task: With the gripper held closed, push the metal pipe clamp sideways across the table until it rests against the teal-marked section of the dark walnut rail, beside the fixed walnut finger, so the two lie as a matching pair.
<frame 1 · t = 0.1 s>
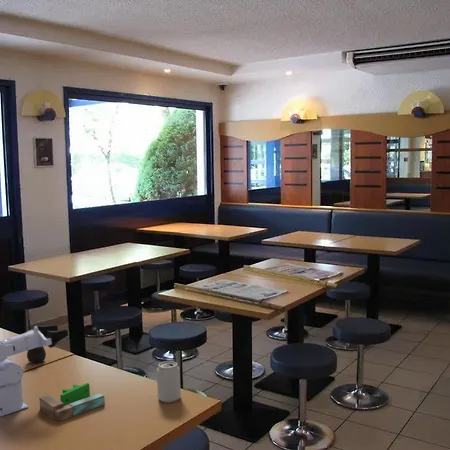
hand: (62, 330, 188), 22 cm above the table, tool horizontal, fingers open, 7 cm apart
rail: (80, 411, 173), on the table
fixed finger: (52, 412, 174), on the table
mate gourd: (37, 362, 219), on the table
can: (169, 399, 181), on the table
pipe clamp: (73, 401, 182), on the table
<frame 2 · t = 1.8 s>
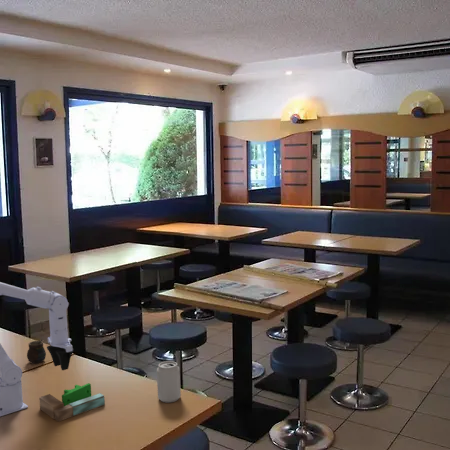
hand: (61, 367, 186), 9 cm above the table, tool pointing down, fingers open, 5 cm apart
nothing on the table moved.
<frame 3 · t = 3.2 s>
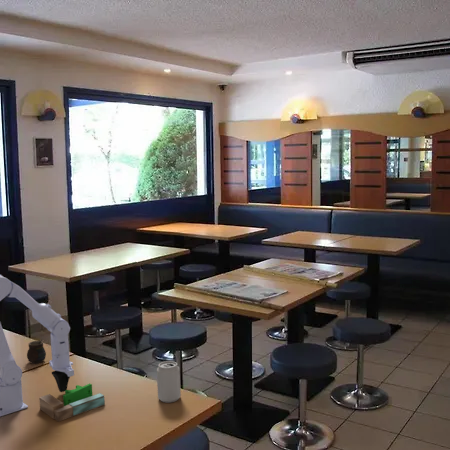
hand: (63, 391, 187), 1 cm above the table, tool pointing down, fingers closed
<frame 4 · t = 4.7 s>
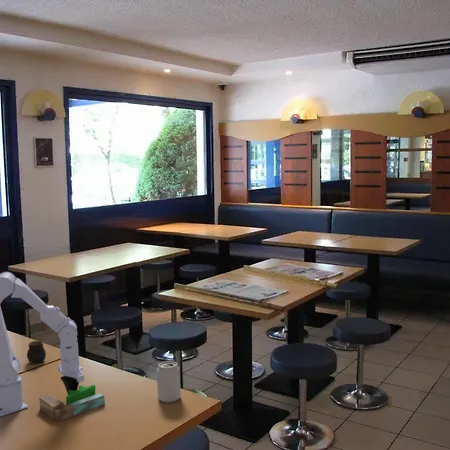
hand: (72, 396, 182), 1 cm above the table, tool pointing down, fingers closed
pipe clamp: (78, 402, 180), on the table
everything else where it was.
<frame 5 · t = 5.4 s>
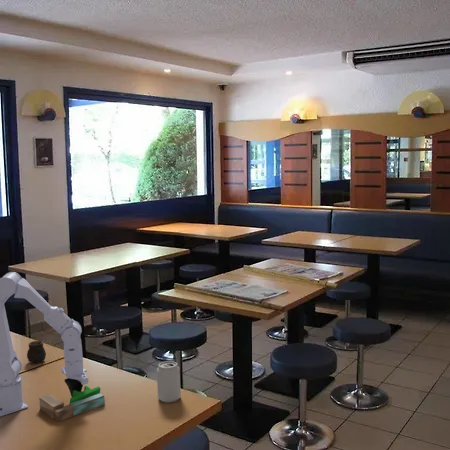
hand: (76, 399, 180), 1 cm above the table, tool pointing down, fingers closed
pipe clamp: (82, 403, 179), on the table, touching gripper
everything else where it was.
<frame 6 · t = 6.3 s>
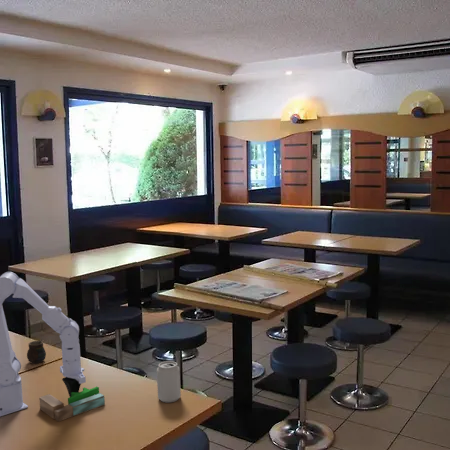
hand: (73, 398, 181), 1 cm above the table, tool pointing down, fingers closed
pipe clamp: (82, 405, 179), on the table
everything else where it was.
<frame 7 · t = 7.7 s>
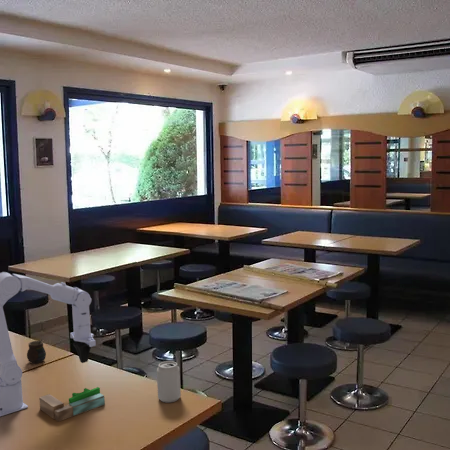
hand: (84, 361, 191), 9 cm above the table, tool pointing down, fingers closed
nothing on the table moved.
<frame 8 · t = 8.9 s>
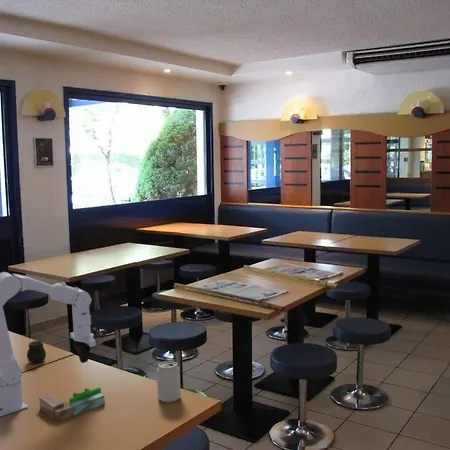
hand: (84, 361, 191), 9 cm above the table, tool pointing down, fingers closed
nothing on the table moved.
at the end: pipe clamp inside the target area (0.8 cm from its centre), on the table; pipe clamp moved 6.0 cm from its start; pipe clamp tilted 0° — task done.
